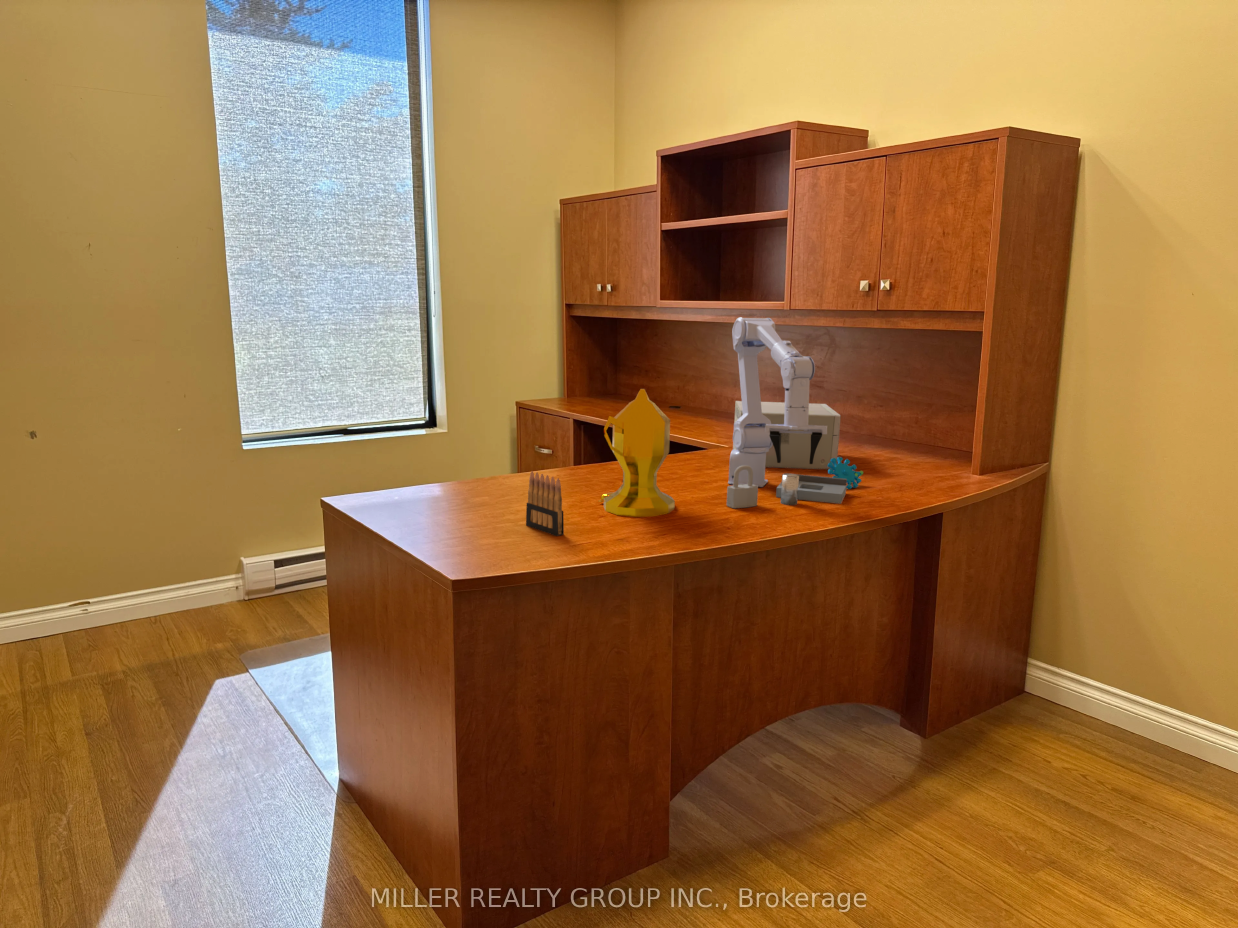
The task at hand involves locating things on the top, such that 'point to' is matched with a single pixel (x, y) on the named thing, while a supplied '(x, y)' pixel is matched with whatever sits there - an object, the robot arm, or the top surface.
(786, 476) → the cylindrical peg
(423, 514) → the top surface
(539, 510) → the ammunition clip
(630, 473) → the trophy cup
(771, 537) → the top surface
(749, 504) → the padlock
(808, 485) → the plate
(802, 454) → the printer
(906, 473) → the top surface
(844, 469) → the gear
